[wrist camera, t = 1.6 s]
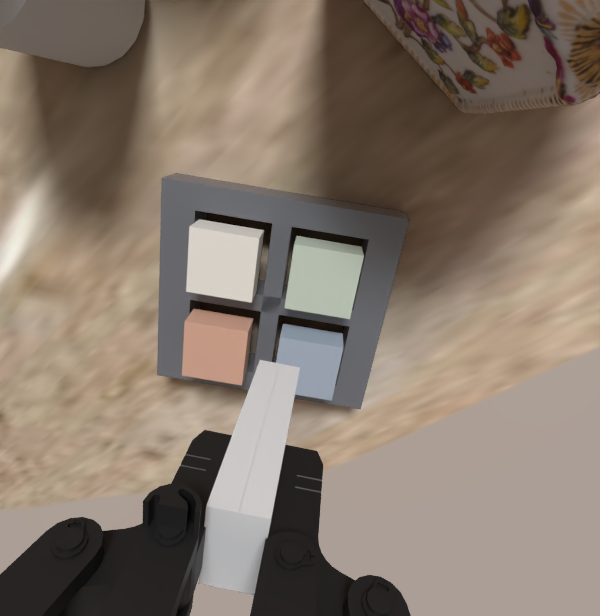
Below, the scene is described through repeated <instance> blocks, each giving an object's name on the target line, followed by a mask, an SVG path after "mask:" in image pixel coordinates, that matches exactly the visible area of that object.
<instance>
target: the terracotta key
mask: <svg viewBox="0 0 600 616" xmlns="http://www.w3.org/2000/svg"><path fill="white" fill-rule="evenodd" d="M252 326H253V318H247V317H241V316H235V315H229V314H224V313H218V312H212V311H206V310H200V309H193V311H192V312H191V313H190V315H189V316H188V317H187V319H186V320H185V323H184V343H183V362H182V376H188V377H194V378H200V379H206V380H212V381H218V382H224V383H230V384H235V385H241V386H242V384H243V381H244V378H245V375H246V372H247V367H248V359H249V351H250V343H251V335H252Z"/></svg>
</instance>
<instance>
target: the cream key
mask: <svg viewBox="0 0 600 616" xmlns="http://www.w3.org/2000/svg"><path fill="white" fill-rule="evenodd" d="M263 236H264V230H260V229H254V228H248V227H242V226H236V225H230V224H224V223H218V222H212V221H206V220H201V219H199V220H198V221H196V222H195V223H194V224H192V225H191V226H189V244H188V263H187V283H186V292H191V293H197V294H203V295H209V296H215V297H221V298H227V299H233V300H239V301H245V302H250V303H252V301H253V298H254V296H255V294H256V292H257V285H258V277H259V269H260V261H261V253H262V245H263Z"/></svg>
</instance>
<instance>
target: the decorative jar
mask: <svg viewBox="0 0 600 616" xmlns="http://www.w3.org/2000/svg"><path fill="white" fill-rule="evenodd" d="M363 1H364V2H365V3H366V4H367V5H368V6H369V8H370V9H371V10H372V11H373V12H374V14H375V15H376V16H377V17H378V19H379V20H380V21H381V22H382V23H383V24H384V25H385V26H386V27H387V28H388V29H389V31H390V32H391V34H392V35H393V36H394V37H395V38H396V39H397V41H398V42H399V43H400V44H401V45H402V46H403V47H404V48H405V49H406V50H407V52H408V53H409V54H410V55H411V56H412V57H413V59H414V60H415V61H416V62H417V63H418V64H419V65H420V66H421V67H422V69H423V70H424V71H425V72H426V73H427V74H428V75H429V76H430V77H431V78H432V80H433V81H434V82H435V83H436V84H437V85H438V86H439V88H440V89H441V90H442V91H443V92H444V93H445V94H446V96H447V97H448V98H449V99H450V100H451V101H452V102H453V104H454V105H455V106H456V107H457V108H458V109H459V110H460V111H462V112H463V113H468V114H473V113H478V114H481V113H482V114H483V113H487V114H488V113H499V112H509V111H517V110H527V109H537V108H545V107H554V106H565V105H575V104H579V103H581V102H584V101H585V100H588V99H591V98H594V97H596V96H597V95H598V94H599V93H600V0H363Z"/></svg>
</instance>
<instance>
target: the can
mask: <svg viewBox="0 0 600 616" xmlns="http://www.w3.org/2000/svg"><path fill="white" fill-rule="evenodd" d="M144 10H145V0H0V48H4V49H8V50H13V51H17V52H21V53H26V54H30V55H35V56H39V57H43V58H48V59H52V60H57V61H61V62H65V63H70V64H74V65H78V66H83V67H96V66H105V65H108V64H110V63H111V62H113V61H115V60H117V59H119V58H121V57H122V56H124V54H125V53H126V52H127V51H128V50H129V48H130V47H131V46H132V45H133V43H134V42H135V41H136V39H137V36H138V34H139V31H140V28H141V26H142V23H143V20H144Z"/></svg>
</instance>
